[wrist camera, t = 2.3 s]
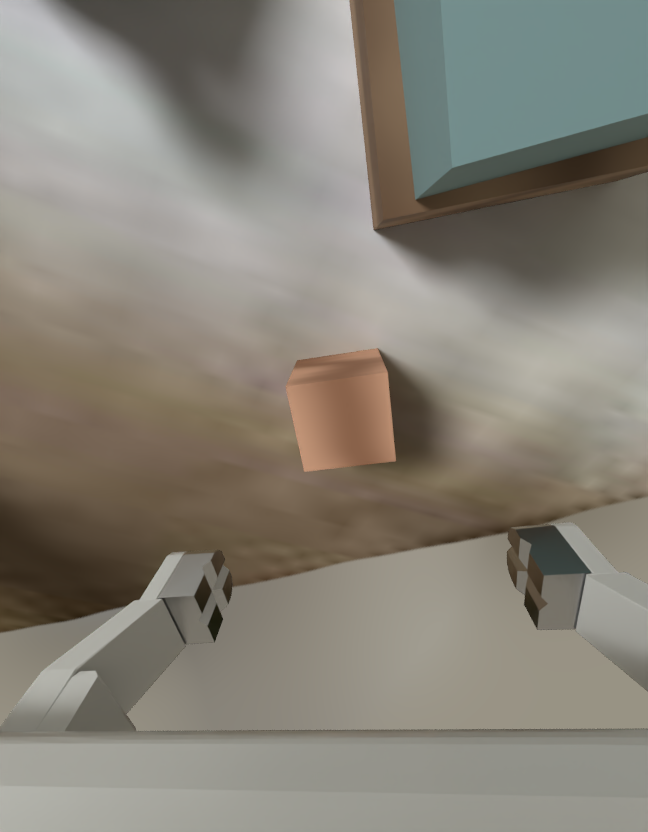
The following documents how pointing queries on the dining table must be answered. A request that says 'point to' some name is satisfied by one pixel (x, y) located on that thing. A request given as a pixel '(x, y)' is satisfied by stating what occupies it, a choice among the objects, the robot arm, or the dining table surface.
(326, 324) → the dining table surface
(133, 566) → the dining table surface
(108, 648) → the robot arm
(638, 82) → the slate top slab
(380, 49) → the walnut base slab
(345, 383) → the terracotta cube
